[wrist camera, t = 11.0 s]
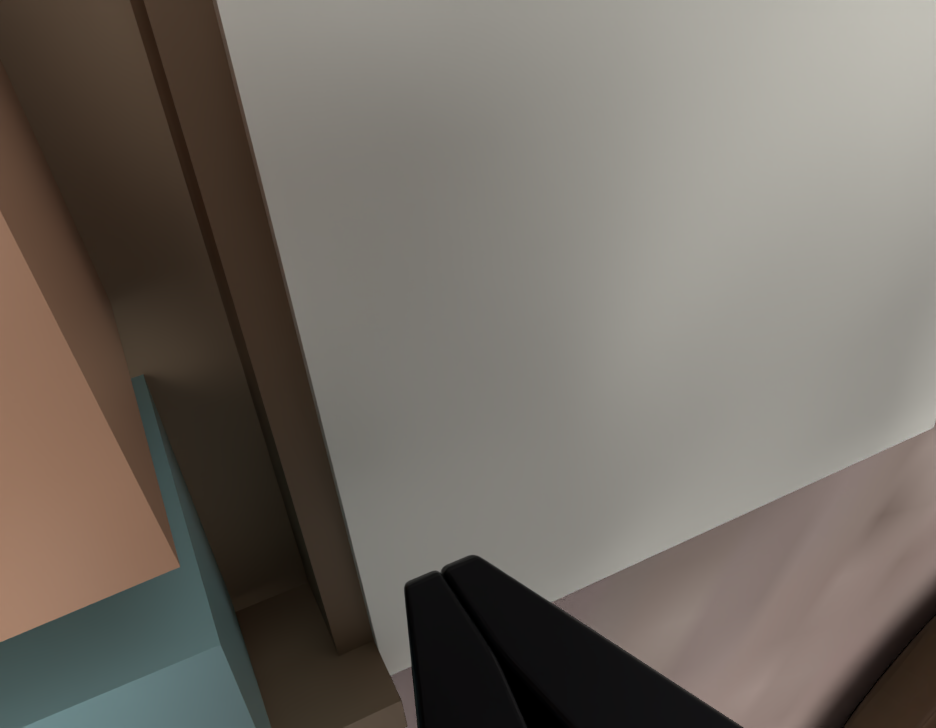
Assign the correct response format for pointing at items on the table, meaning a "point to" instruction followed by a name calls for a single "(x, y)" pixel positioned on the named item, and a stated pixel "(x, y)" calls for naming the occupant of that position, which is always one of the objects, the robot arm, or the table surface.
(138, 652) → the pale teal cube
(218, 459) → the box
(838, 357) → the bench slab
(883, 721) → the plant saucer
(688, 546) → the table surface
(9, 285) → the tile terracotta
